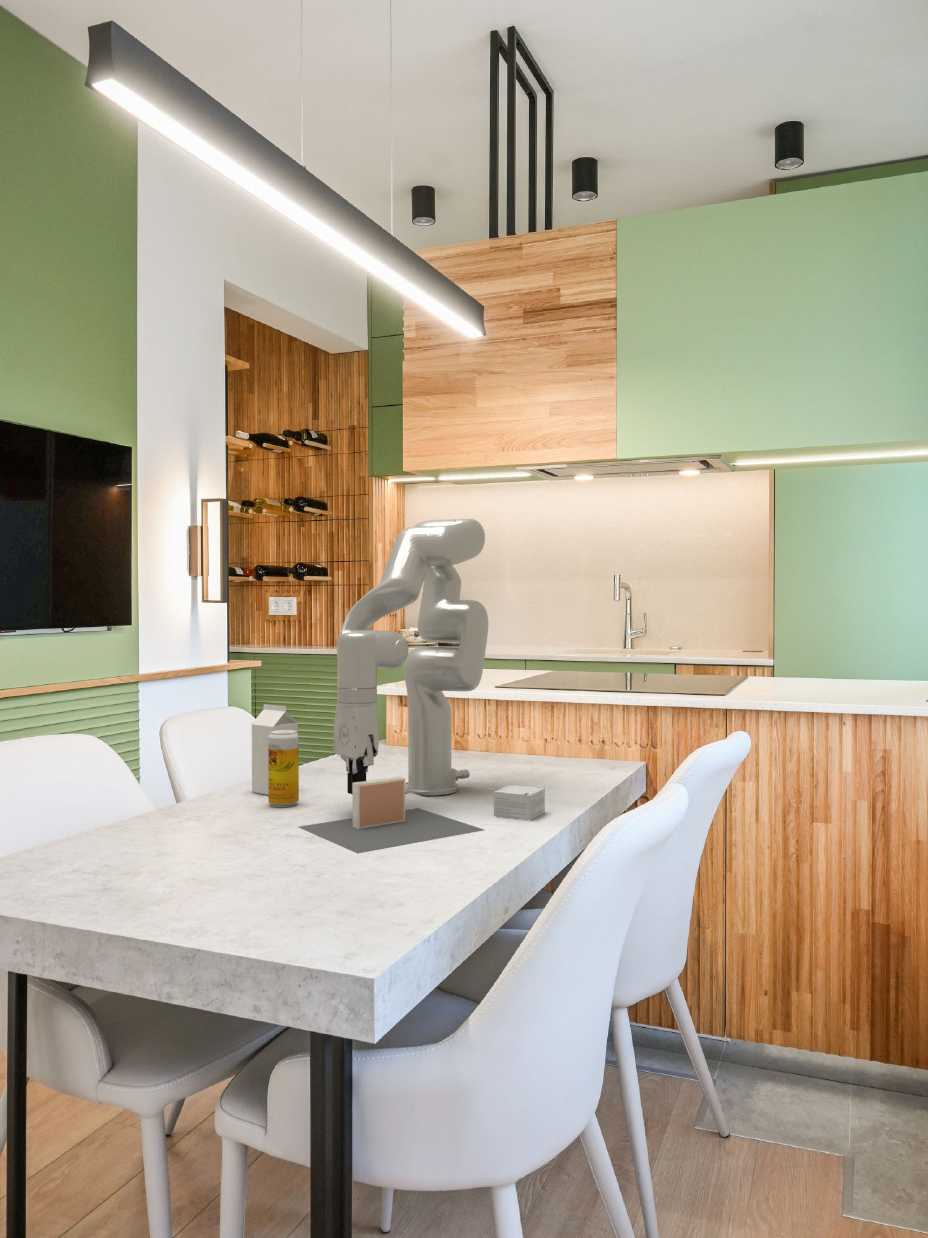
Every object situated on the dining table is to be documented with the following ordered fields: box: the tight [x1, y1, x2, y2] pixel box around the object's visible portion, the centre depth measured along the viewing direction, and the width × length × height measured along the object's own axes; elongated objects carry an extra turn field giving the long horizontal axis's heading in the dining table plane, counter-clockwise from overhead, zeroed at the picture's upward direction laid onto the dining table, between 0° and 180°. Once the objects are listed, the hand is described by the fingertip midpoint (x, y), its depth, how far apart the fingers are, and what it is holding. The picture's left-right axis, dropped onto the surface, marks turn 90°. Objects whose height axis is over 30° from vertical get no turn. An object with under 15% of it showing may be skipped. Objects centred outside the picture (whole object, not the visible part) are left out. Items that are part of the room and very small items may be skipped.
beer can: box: [267, 730, 300, 808], centre depth 186 cm, size 6×6×15 cm
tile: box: [351, 776, 406, 829], centre depth 167 cm, size 10×2×8 cm, turn 126°
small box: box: [493, 784, 546, 821], centre depth 177 cm, size 8×8×5 cm
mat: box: [298, 807, 485, 854], centre depth 164 cm, size 26×22×1 cm
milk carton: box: [251, 703, 299, 795], centre depth 199 cm, size 7×7×19 cm
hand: (356, 793), depth 173 cm, fingers closed
